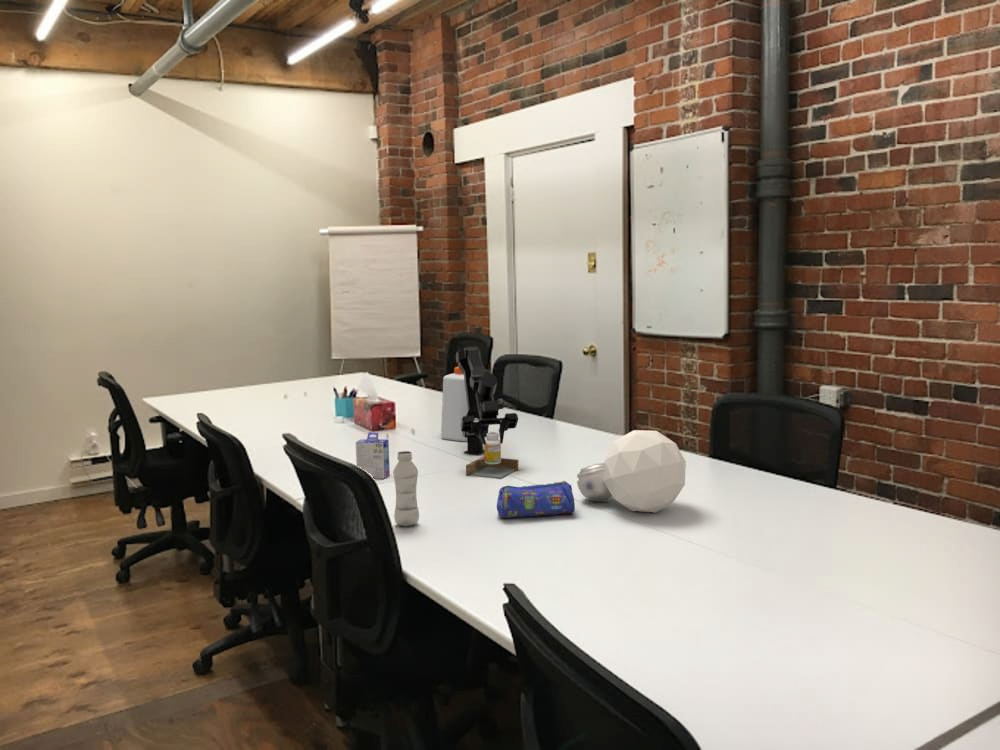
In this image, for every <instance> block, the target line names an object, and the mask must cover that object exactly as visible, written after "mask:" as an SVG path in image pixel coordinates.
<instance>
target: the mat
mask: <svg viewBox="0 0 1000 750" xmlns="http://www.w3.org/2000/svg"><path fill="white" fill-rule="evenodd" d="M514 472H516V471H515V469H507V468H497V467H487V466H486V467H484V468H482V469H480V470H478V471H476V472H474V473H472V474H471V476H470V477H480V478H486V479H487V478H490V479H499V480H503V479H504V478H506V477H507V476H509V475H511V474H512V473H514Z"/></svg>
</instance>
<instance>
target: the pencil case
mask: <svg viewBox="0 0 1000 750" xmlns="http://www.w3.org/2000/svg"><path fill="white" fill-rule="evenodd" d="M575 505H576V503H575V497H574V494H573V488H572V484H570V483H569V482H568V481H565V480H563V481H555V482H553V483H546V484H543V483H542V484H533V485H527V486H525V485H524V486H515V485H505V486H501V488H500V489H499V491H498V495H497V500H496V509H497V510H496V511H497V516H498V517H499V518H502V519H506V518H519V517H520V518H521V517H522V518H524V517H538V516H539V517H540V516H549V515H561V514H567V515H572V514H573V513H574V512H575V510H576V506H575Z"/></svg>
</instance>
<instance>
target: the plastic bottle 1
mask: <svg viewBox="0 0 1000 750" xmlns="http://www.w3.org/2000/svg"><path fill="white" fill-rule="evenodd" d="M396 459H397V460H398V462H397V464H396V465H395V467H394V468H393V472H392V473H393V476H392V477H393V481H394V486H395V508H394V513H393V518H394V522H395V524H396V525H397V526H401V527H409V526H410V527H412V526H414V525H417V523H418V522H419V519H420V510H419V507H418V501H417V500H418V499H417V484H418V475H419V470H418V468H417V466H416V465H415V464H414V462H412V460H413V455H412V451H409V450H404V451H398V452H397V458H396Z"/></svg>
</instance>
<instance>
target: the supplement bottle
mask: <svg viewBox="0 0 1000 750" xmlns="http://www.w3.org/2000/svg"><path fill="white" fill-rule="evenodd" d="M485 437H486V439H485V443H486V444H485V445H484V444H483V449H485V452H484V456H485V463H487V464H498V463H500V462H501V458H502V444H501V441H500V435H499V432H494V431H493V432H491V431H490V432H488V433H487V434H486V436H485Z"/></svg>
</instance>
